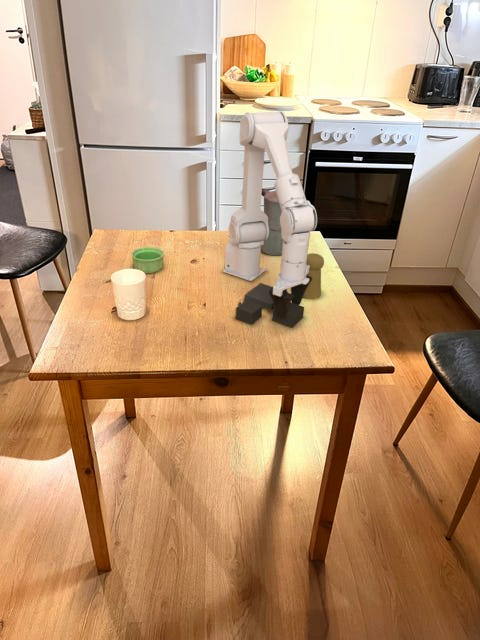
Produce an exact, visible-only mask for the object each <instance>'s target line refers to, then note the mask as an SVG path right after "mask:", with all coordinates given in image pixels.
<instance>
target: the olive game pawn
mask: <svg viewBox="0 0 480 640" xmlns="http://www.w3.org/2000/svg"><path fill="white" fill-rule="evenodd" d="M324 264H325V259H324V257H323V256H322V255H321V254H319V253H316V252H315V253H314V252H312V253H308V255H307V263H306V265H309V266H310V268H309V273H308V274H306V275H308V276H311V277H312V281H311V282H310V284H309V285H308V287H307V289H306V291H305V293H304V296H303V298H304V299H307V300H316V299H318V298H320V297H321V296H322V269H323V267H324Z"/></svg>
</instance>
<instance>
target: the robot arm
mask: <svg viewBox="0 0 480 640" xmlns="http://www.w3.org/2000/svg"><path fill="white" fill-rule="evenodd" d="M288 135H289V120H288V117H287V115H286V113H285V112H284V111H283V110H282V111H275V112H274V111H273V112H268V111H267V112H248V111H247V112H245V113H243V116H242V117H241V118H240V121H239V145H240V146H243V147H244V151H243V152H244V154H243V170H242V171H243V174H242V192H241V193H242V195H241V196H242V197H241V207H240V208H239V209H238V210H236V211H235V212H233V214H231V216H230V222H229V226H228V237H229V241H228V242H227V244H226V246H225V250H224V269H223V270H222V272H223V273H225V274H228V275H231V276H233V277H237V278H240V279H242V280H245V281H248V282H252V281H254V280H255V279H257V278H258V277H260V276H261V275H262V274H264V273H265V272H266V268H262V267H261V266H260V265H261V254H262V253H261V252H262V251H261V245H264V241H266V240H267V238H268V236H269V226H268V217H267V215H266V214H265V213H264V210H262V209H261V207H262V189H263V180H264V166H265V153H266V154H267V155H266V156H267V157H268V159H269V162H270V165H271V167H272V169H273V172H274V174H275V177H276V180H275V182H274V184H273V187H274V191H276V194H277V197H278V200H279V204H280V207H281V210H282V213H281V216H280V225H281V236H282V239H283V247H282V255H281V259H280V270H279V273H278V277H277V280H276V283H275V284H274V285H273V286H272V288H271V289H270V290H269V294H270V296H271V297H272V299H273V302H274V305H275V310H276V315H277V316H278V317H280V318H283V319H284V318H285V317H286V315H287V312H288V307H289V304H290V302H291V303H294V304H297V305H300V306H301V303H302V301H303V298H304V297H303V296H304V293H305V291H306V289H307V287H308V285H309V284H310V282H311V281H312V277H311V276H308V275H306V274H308V273H309V268H310V266H309V265H306V263H307V255H308V254H309V247H310V246H309V245H310V239H311V232H314V231H315V230H316V228H317V225H318V215H317V210H316V208H315V206H314V205H313V204H311V202H310V200H307V198H306V194H305V191H304V188H303V185H302V182H301V179H300V176H299V175H297V174H296V173H293V170H292V163H291V160H290V154H289V151H288V146H287V140H288V139H287V138H288ZM288 289H290V293H289V291H288Z"/></svg>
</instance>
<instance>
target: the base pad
mask: <svg viewBox="0 0 480 640" xmlns="http://www.w3.org/2000/svg"><path fill="white" fill-rule="evenodd" d="M272 287H273V286H272V285H268V284H265V283H262V282H260V283H258V284H257V285H256V286H254V287H253V288H252V289H251V290H249V291H248V292H246V293H245V294H244V300H243V302H244V301H245V300H248V301H251V302H254V303H256V304H259V305H262V309H265V310H267V311H270V312H273V309H274V308H275V305H274V302H273V299H272V297H271V296H270V294H269V290H270V289H271V288H272Z"/></svg>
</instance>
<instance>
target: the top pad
mask: <svg viewBox="0 0 480 640" xmlns="http://www.w3.org/2000/svg"><path fill="white" fill-rule="evenodd" d="M244 300H245V299H244ZM244 300H243V302H241V303H240V304H239V305H238V306H236V307H235V320H237V321H240V322H243V323H246V324H248V325H250V326H252V325H253V324H255V323H256V322H257V321H259V319H261V318H262V314H263V308H262V305H259V304H256V303H254V302H251V301H248V300H245V301H244Z"/></svg>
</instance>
